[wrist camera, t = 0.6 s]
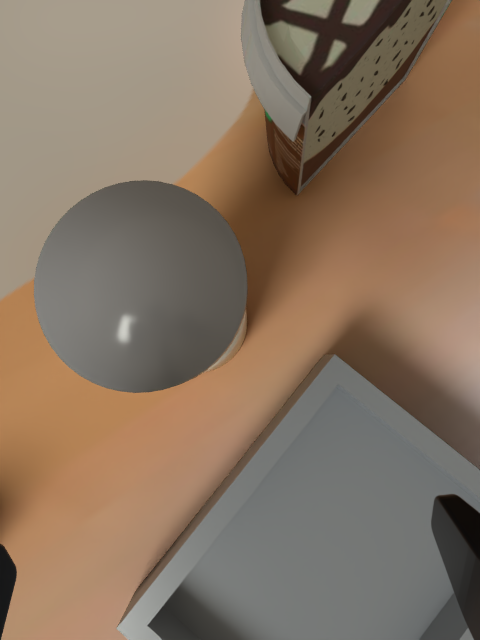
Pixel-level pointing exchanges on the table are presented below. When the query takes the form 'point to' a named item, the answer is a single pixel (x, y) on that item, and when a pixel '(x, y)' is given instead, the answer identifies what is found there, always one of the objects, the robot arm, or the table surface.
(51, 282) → the grey round glossy part
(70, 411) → the table surface
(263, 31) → the food container
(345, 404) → the charcoal tray
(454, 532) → the robot arm
